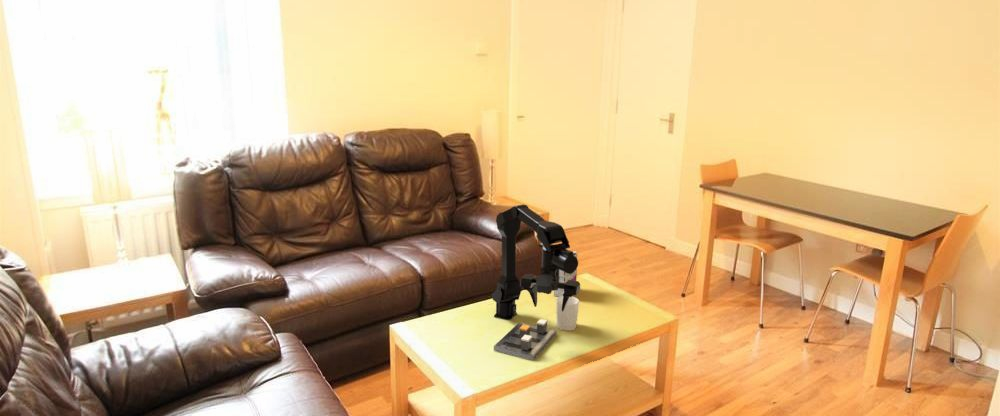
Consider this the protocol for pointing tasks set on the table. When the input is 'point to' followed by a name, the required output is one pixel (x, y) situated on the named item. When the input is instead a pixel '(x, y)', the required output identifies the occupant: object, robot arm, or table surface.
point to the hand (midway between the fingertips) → (549, 308)
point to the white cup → (567, 313)
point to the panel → (513, 342)
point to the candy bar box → (565, 278)
